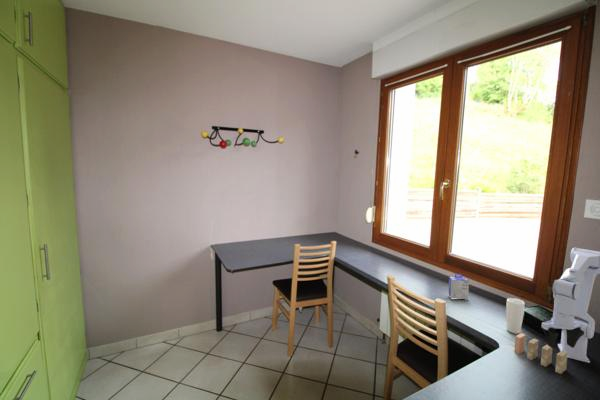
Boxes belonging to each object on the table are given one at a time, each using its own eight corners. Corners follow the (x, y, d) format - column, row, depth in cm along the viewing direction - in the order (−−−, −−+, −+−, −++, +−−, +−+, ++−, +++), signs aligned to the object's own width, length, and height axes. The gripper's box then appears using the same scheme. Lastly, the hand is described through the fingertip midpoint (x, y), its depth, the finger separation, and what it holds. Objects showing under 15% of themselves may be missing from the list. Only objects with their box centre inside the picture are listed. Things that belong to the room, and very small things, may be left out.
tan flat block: (551, 362, 112) (552, 346, 112) (545, 366, 110) (547, 349, 109) (546, 360, 114) (547, 344, 113) (540, 364, 111) (542, 347, 111)
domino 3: (566, 369, 108) (567, 352, 108) (560, 374, 106) (562, 356, 105) (560, 367, 110) (562, 350, 109) (555, 371, 108) (556, 354, 107)
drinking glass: (501, 329, 136) (503, 299, 135) (510, 326, 139) (512, 296, 138) (516, 336, 130) (519, 305, 129) (525, 333, 133) (528, 302, 131)
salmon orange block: (524, 350, 120) (525, 334, 120) (518, 354, 118) (520, 338, 117) (520, 348, 122) (521, 332, 121) (514, 352, 119) (515, 336, 119)
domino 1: (537, 356, 116) (538, 340, 116) (531, 360, 114) (533, 343, 113) (532, 354, 118) (534, 338, 117) (527, 358, 115) (528, 341, 115)
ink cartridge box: (465, 296, 172) (466, 273, 170) (468, 301, 166) (470, 277, 165) (447, 295, 174) (448, 272, 172) (450, 299, 168) (451, 275, 167)
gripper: (571, 306, 110) (568, 339, 112) (535, 307, 110) (533, 340, 111) (591, 315, 103) (587, 350, 105) (552, 316, 103) (549, 351, 104)
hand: (560, 346), depth 108 cm, fingers open, 7 cm apart
